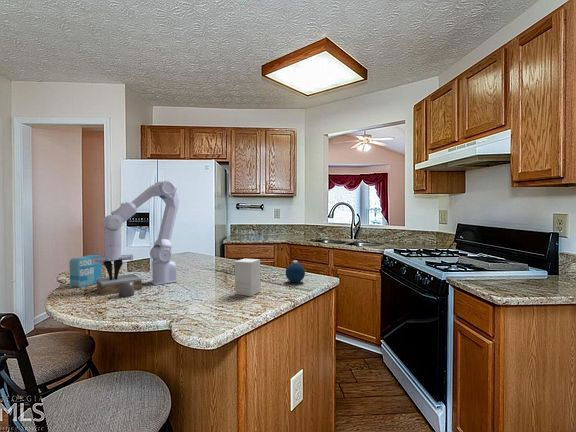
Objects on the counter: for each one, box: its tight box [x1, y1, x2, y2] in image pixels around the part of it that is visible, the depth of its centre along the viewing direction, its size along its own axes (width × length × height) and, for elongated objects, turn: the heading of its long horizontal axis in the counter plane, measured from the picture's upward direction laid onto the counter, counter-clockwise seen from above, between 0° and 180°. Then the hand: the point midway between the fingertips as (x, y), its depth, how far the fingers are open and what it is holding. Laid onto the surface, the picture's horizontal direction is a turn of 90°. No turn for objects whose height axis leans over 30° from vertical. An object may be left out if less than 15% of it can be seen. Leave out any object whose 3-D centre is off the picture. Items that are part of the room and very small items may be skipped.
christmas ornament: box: [285, 260, 306, 284], centre depth 145 cm, size 8×8×10 cm
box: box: [96, 281, 143, 296], centre depth 135 cm, size 14×12×3 cm
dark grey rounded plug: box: [118, 281, 135, 298], centre depth 126 cm, size 5×5×5 cm
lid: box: [97, 273, 142, 286], centre depth 135 cm, size 14×12×1 cm
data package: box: [69, 254, 103, 288], centre depth 144 cm, size 12×4×12 cm, turn 163°
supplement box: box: [234, 258, 262, 297], centre depth 128 cm, size 7×7×13 cm
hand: (113, 279), depth 134 cm, fingers closed on lid
